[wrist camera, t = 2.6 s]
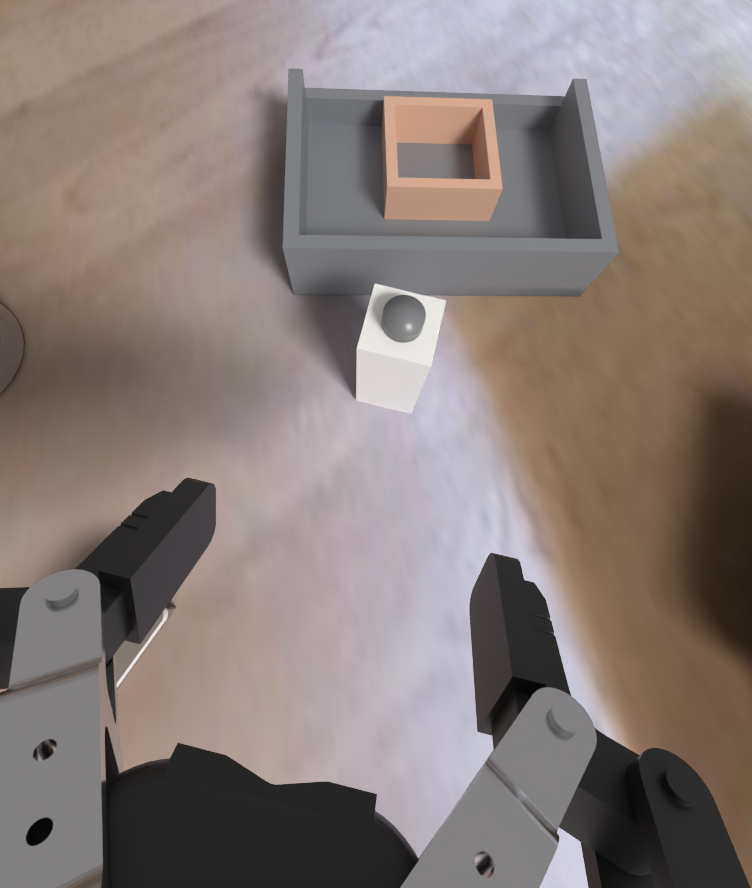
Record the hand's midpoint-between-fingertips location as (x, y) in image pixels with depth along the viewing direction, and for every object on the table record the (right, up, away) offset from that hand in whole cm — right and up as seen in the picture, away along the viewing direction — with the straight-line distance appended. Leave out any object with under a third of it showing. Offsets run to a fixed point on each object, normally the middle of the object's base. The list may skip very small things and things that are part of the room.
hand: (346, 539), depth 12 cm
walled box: (+5, +22, +22) cm, 31 cm away
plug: (+2, +7, +18) cm, 20 cm away
